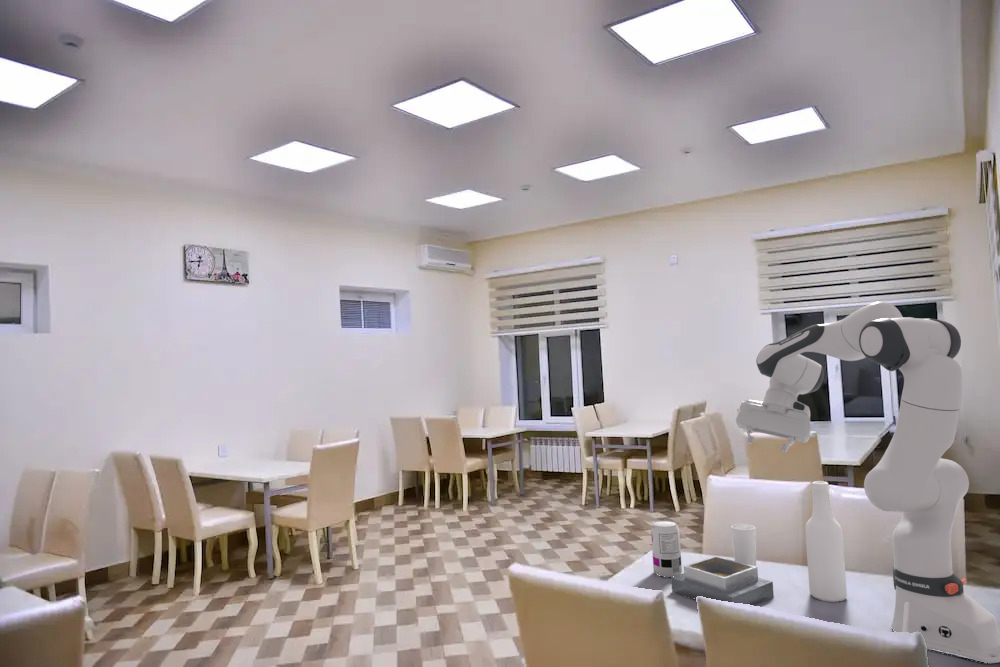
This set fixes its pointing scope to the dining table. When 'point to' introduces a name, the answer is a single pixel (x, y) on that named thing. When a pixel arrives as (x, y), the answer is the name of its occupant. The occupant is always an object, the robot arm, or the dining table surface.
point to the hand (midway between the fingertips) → (766, 447)
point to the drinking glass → (744, 543)
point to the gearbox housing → (723, 581)
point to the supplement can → (666, 548)
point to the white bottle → (825, 549)
